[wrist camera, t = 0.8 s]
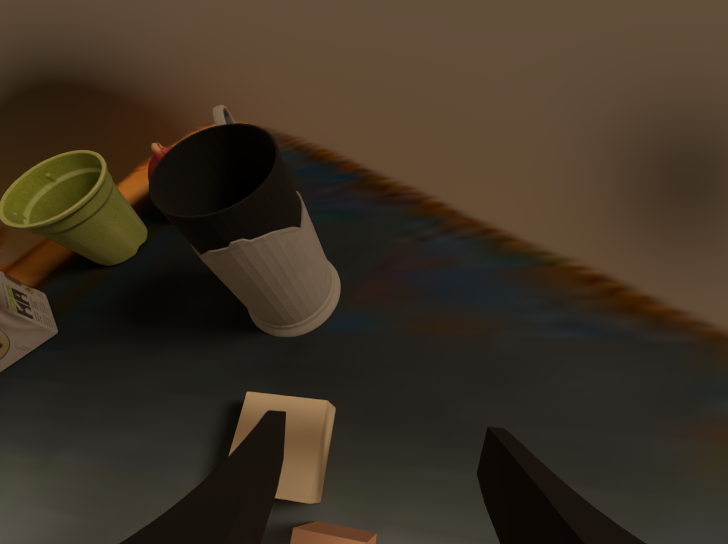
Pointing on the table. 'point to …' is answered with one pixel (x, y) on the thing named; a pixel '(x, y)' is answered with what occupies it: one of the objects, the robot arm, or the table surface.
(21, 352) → the coffee box
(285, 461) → the birch base
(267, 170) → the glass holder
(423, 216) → the table surface
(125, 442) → the table surface
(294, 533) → the painted block
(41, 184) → the plant pot
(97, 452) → the table surface
